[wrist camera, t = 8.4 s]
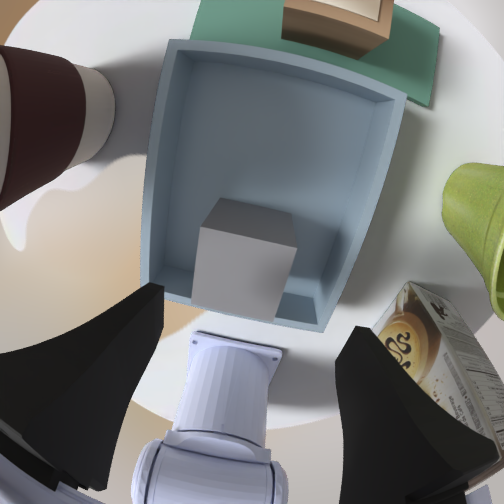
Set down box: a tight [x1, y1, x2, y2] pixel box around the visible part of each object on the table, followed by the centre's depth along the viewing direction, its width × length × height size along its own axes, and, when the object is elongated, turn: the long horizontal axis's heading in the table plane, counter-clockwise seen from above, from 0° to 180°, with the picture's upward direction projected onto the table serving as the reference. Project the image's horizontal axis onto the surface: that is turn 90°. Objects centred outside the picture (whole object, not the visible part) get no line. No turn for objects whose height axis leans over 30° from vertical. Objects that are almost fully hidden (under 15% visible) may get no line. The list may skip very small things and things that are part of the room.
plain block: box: [191, 198, 297, 322], centre depth 16 cm, size 4×4×5 cm
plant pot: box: [442, 163, 504, 321], centre depth 12 cm, size 9×9×9 cm
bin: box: [140, 39, 407, 333], centre depth 15 cm, size 15×12×4 cm
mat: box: [190, 0, 440, 107], centre depth 11 cm, size 6×15×1 cm, turn 78°
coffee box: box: [372, 282, 504, 492], centre depth 14 cm, size 9×6×16 cm
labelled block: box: [281, 0, 394, 60], centre depth 9 cm, size 4×4×5 cm
